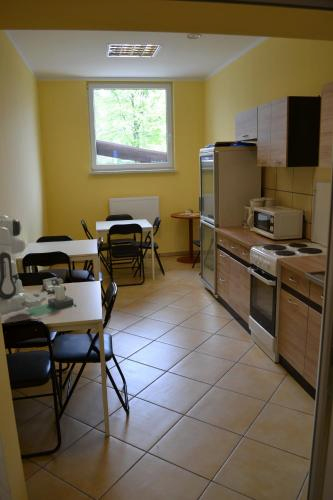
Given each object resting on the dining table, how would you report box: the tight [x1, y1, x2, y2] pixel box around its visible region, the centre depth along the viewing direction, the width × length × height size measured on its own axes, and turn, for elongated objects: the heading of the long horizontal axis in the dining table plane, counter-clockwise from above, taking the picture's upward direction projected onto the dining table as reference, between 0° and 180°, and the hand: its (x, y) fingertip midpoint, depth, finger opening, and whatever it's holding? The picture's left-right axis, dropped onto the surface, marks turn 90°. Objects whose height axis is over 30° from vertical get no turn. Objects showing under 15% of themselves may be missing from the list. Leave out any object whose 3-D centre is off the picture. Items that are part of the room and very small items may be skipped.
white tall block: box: [54, 280, 66, 302], centre depth 245 cm, size 4×4×16 cm
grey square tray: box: [47, 294, 75, 309], centre depth 247 cm, size 11×11×4 cm
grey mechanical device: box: [41, 277, 67, 294], centre depth 279 cm, size 18×10×12 cm
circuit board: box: [25, 303, 77, 317], centre depth 243 cm, size 15×26×1 cm, turn 131°
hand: (42, 296), depth 238 cm, fingers open, 8 cm apart
